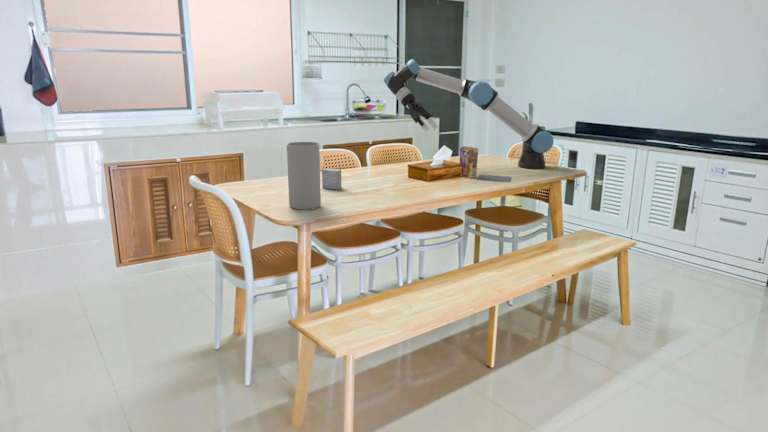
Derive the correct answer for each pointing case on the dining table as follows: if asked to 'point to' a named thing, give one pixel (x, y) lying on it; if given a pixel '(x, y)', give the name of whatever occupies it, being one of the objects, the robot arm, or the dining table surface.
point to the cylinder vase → (303, 175)
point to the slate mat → (494, 178)
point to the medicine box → (331, 178)
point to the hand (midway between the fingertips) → (432, 129)
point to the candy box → (468, 161)
